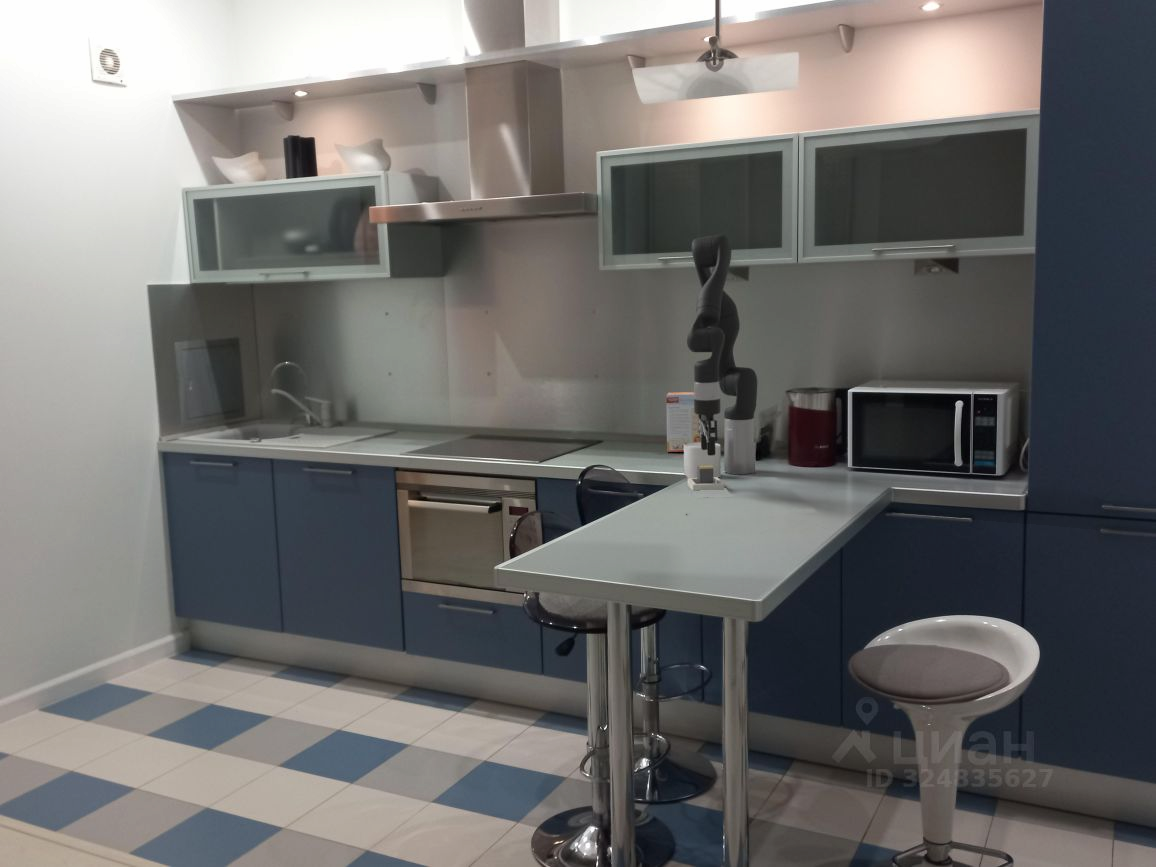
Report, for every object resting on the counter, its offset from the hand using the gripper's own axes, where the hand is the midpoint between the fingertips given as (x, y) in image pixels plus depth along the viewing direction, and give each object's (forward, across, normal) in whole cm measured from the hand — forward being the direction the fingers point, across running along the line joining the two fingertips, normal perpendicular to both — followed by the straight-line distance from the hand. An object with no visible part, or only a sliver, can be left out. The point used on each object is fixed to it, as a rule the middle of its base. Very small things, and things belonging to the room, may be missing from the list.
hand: (708, 452), depth 299 cm
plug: (+10, 0, +1) cm, 11 cm away
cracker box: (+13, +62, -6) cm, 63 cm away
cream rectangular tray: (+11, -4, +1) cm, 12 cm away
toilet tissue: (+12, +20, -2) cm, 23 cm away
